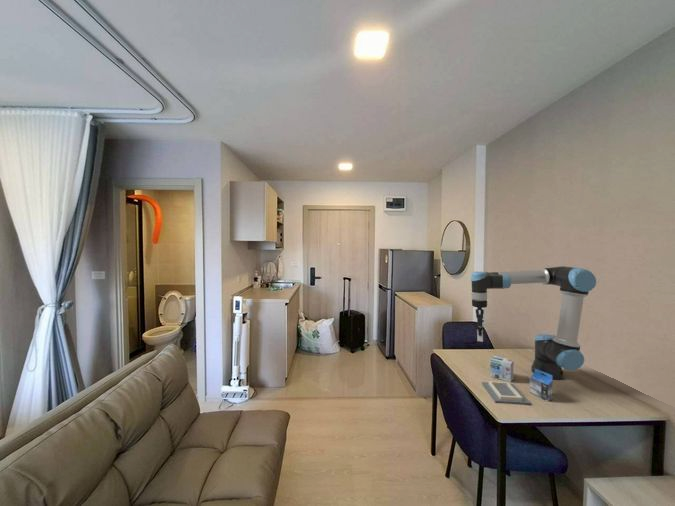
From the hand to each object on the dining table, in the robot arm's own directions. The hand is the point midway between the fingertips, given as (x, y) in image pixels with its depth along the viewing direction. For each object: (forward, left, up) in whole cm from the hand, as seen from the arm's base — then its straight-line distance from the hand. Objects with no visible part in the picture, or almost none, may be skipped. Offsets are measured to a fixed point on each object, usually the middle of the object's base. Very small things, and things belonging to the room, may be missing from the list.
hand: (480, 337), depth 151 cm
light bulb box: (-14, -8, -26) cm, 31 cm away
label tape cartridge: (-25, +10, -26) cm, 38 cm away
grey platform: (-8, +10, -26) cm, 29 cm away
